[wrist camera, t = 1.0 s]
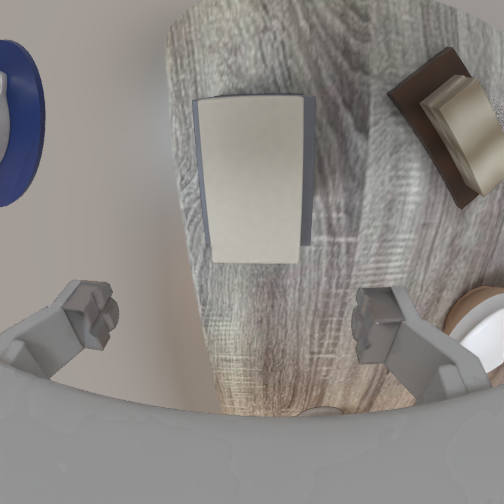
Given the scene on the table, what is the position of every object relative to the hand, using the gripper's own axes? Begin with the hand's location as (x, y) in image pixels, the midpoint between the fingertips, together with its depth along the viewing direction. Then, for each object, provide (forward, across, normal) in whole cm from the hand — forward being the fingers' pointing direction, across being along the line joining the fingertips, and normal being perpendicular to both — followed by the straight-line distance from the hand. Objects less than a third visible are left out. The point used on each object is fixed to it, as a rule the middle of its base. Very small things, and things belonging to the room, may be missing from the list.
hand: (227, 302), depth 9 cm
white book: (+13, 0, 0) cm, 13 cm away
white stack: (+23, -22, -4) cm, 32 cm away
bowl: (+23, -34, +23) cm, 47 cm away
